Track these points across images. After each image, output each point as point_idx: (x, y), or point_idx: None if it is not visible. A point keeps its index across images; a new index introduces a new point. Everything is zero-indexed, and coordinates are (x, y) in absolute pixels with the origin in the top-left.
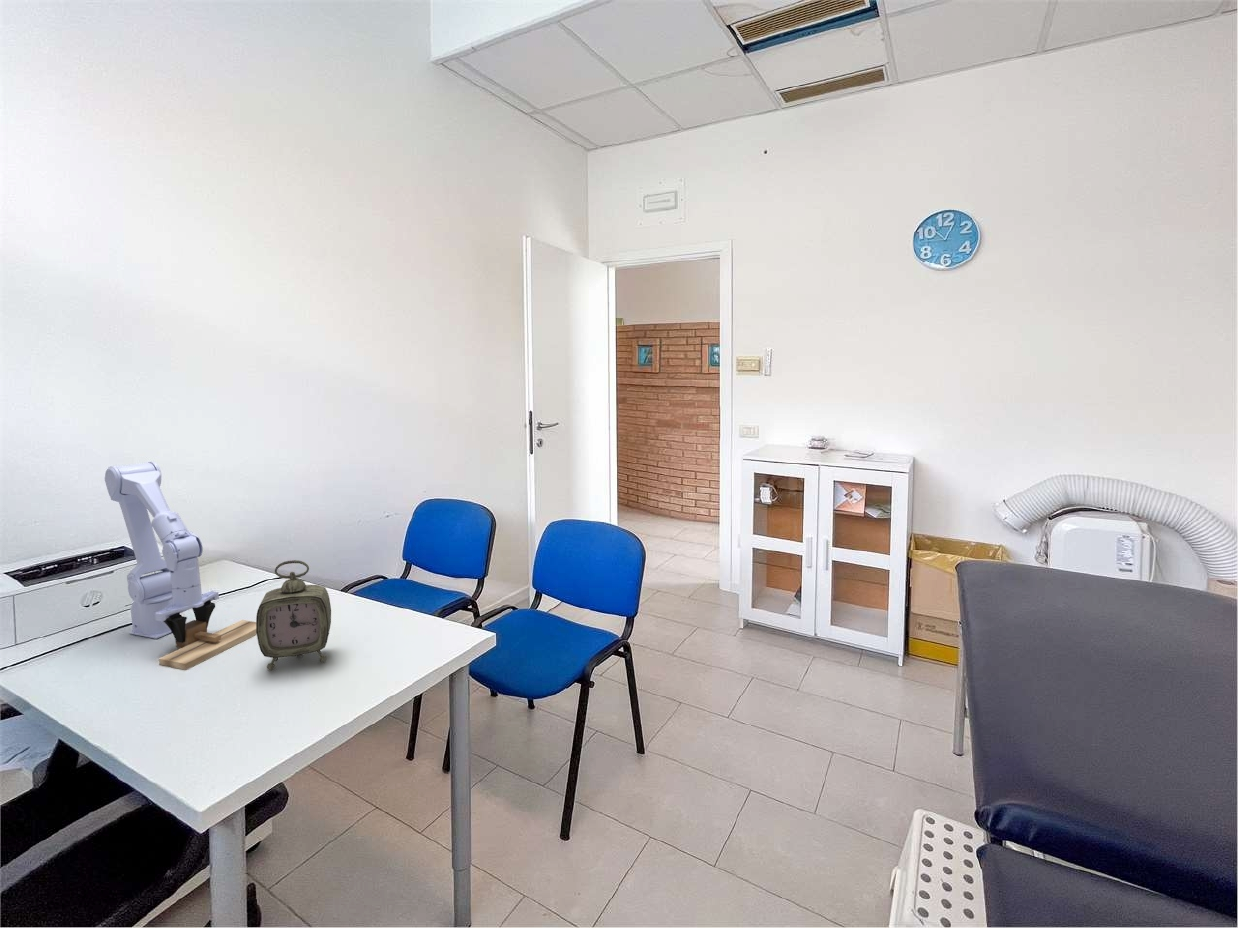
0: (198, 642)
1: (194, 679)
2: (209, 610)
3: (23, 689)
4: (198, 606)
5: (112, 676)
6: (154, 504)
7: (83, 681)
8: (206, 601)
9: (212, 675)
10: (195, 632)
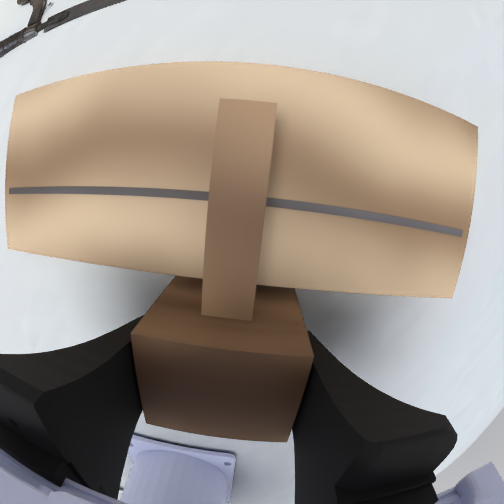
0: (270, 255)
1: (480, 58)
2: (49, 371)
3: (477, 435)
4: None
5: (481, 351)
6: None
7: (485, 385)
8: (15, 457)
9: (445, 13)
10: (241, 322)
